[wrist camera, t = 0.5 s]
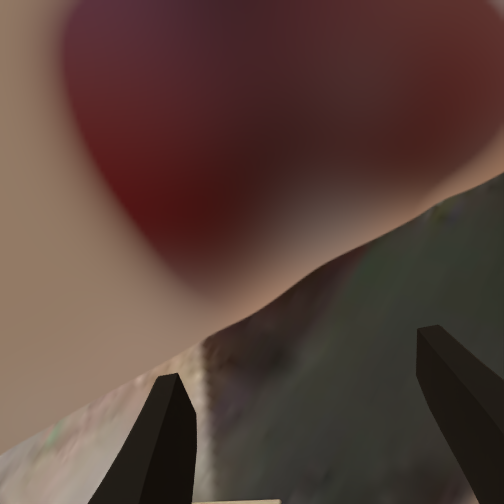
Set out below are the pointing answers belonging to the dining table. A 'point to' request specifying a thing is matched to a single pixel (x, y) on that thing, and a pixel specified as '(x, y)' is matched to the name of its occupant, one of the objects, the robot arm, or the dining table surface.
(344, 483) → the dining table surface
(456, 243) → the dining table surface
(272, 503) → the mat
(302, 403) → the dining table surface
